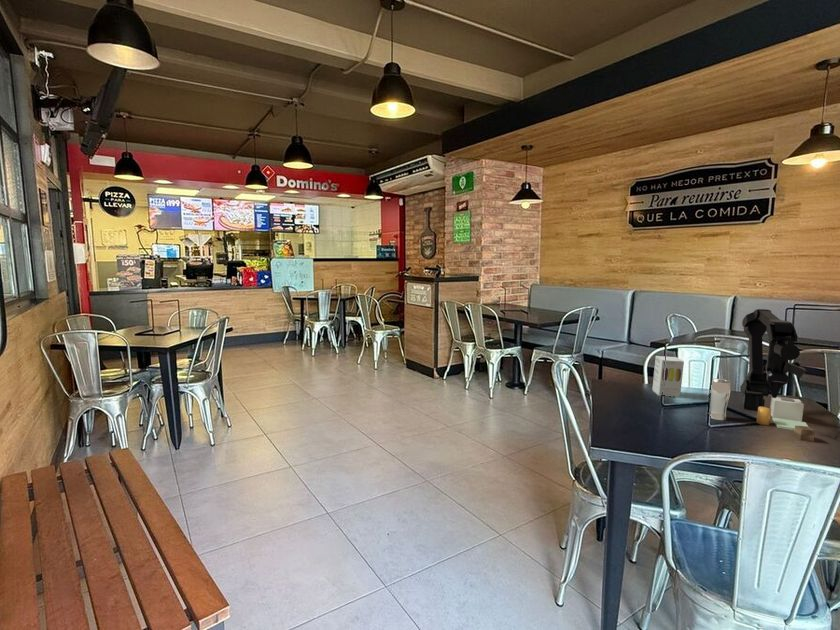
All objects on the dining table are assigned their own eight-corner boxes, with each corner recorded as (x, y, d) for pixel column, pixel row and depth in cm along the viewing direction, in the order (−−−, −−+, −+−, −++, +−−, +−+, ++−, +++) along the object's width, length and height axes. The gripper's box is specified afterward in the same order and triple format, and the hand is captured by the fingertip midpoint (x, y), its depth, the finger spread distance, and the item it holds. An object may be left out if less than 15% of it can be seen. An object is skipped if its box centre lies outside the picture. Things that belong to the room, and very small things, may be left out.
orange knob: (757, 423, 174) (759, 408, 173) (755, 420, 177) (757, 405, 177) (770, 425, 172) (772, 410, 171) (768, 422, 175) (770, 407, 175)
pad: (777, 427, 170) (777, 425, 170) (772, 419, 179) (772, 417, 179) (811, 433, 165) (812, 431, 165) (804, 424, 174) (805, 422, 174)
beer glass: (725, 416, 182) (729, 379, 180) (729, 422, 175) (733, 384, 173) (705, 413, 185) (709, 377, 183) (708, 419, 178) (711, 381, 176)
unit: (772, 417, 181) (774, 399, 180) (769, 412, 187) (771, 394, 186) (802, 422, 176) (805, 403, 175) (798, 416, 182) (800, 398, 181)
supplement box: (658, 396, 207) (661, 359, 204) (651, 390, 216) (654, 355, 213) (681, 397, 205) (684, 360, 203) (673, 391, 214) (676, 356, 212)
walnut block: (800, 440, 159) (801, 429, 158) (793, 436, 163) (795, 425, 162) (813, 441, 158) (814, 430, 157) (806, 437, 162) (808, 426, 161)
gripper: (810, 362, 159) (804, 405, 161) (800, 353, 175) (795, 392, 177) (770, 358, 165) (765, 399, 167) (764, 349, 181) (759, 387, 183)
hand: (772, 394), depth 173 cm, fingers open, 9 cm apart
